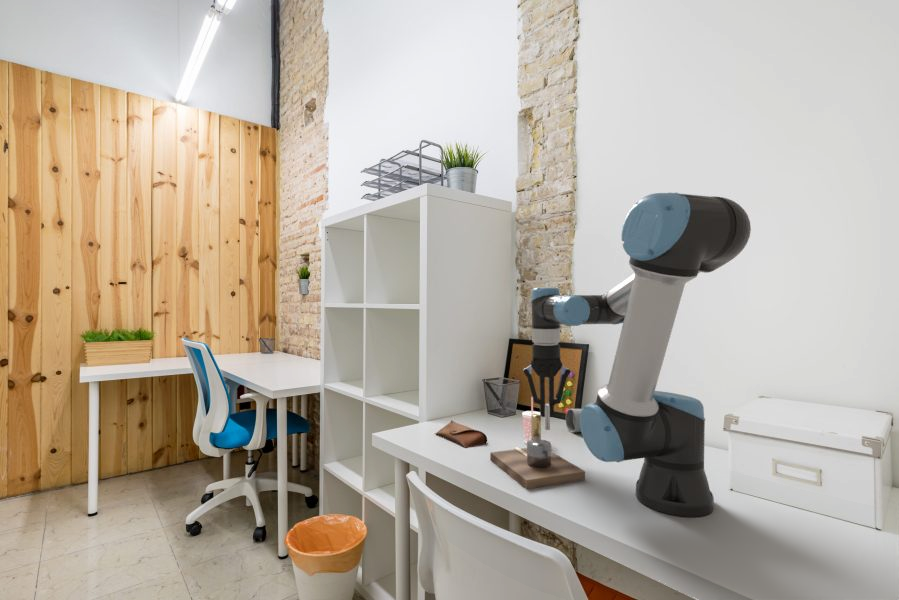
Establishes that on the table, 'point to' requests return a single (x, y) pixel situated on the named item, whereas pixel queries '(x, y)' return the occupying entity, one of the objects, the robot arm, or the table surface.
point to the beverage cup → (528, 422)
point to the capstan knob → (538, 445)
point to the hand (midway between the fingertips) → (547, 428)
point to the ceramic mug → (573, 420)
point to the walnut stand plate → (536, 469)
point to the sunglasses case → (462, 435)
